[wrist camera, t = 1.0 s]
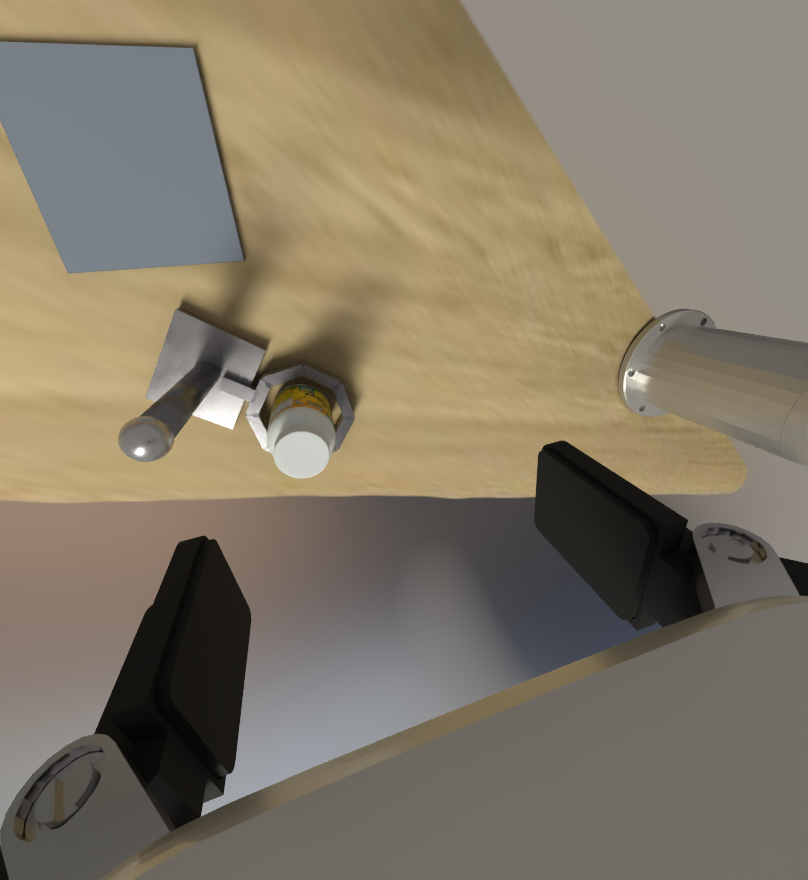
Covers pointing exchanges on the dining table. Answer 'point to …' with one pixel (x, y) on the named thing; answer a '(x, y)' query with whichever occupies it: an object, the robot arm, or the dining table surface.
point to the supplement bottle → (301, 431)
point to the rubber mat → (118, 154)
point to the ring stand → (213, 387)
